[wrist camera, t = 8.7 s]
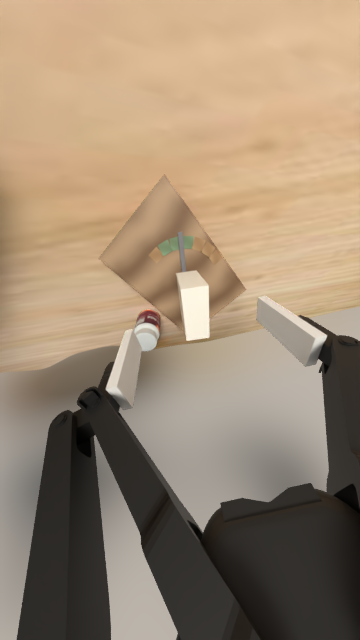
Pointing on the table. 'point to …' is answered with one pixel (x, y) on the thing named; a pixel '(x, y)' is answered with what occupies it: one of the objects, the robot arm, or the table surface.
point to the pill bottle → (147, 329)
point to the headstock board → (169, 254)
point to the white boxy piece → (192, 299)
